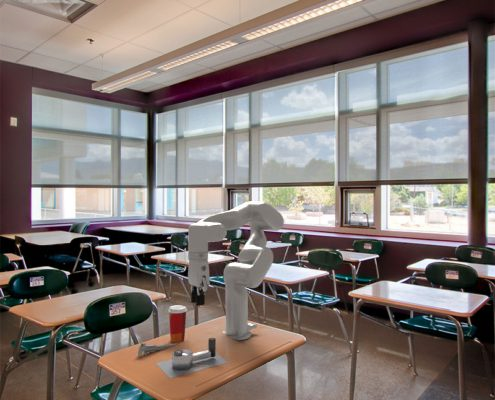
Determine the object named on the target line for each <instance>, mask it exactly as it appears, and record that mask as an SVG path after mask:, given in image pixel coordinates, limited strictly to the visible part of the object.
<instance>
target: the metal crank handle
mask: <svg viewBox="0 0 495 400" xmlns="http://www.w3.org/2000/svg"><path fill="white" fill-rule="evenodd" d="M216 340H217V339H216V338H215V337H210V338H208V340H207V341H208V344H207V345H208V346H207V347H208V348H207V349H208V350H203V351H198V352H194V353H193V351H192V350H190V349H175V350H173V352H172V355H171V359H172V367H173V368H174V369H177V370H185V369H188V368H190V367H192V365H193V362H194V361H198V360H202V359H206V358H210V357H215V356H216V353H217V352H216V349H217V348H216V346H217V345H216V344H217V342H216Z"/></svg>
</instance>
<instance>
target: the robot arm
mask: <svg viewBox="0 0 495 400" xmlns="http://www.w3.org/2000/svg"><path fill="white" fill-rule="evenodd" d="M248 223H249V227H250V234H249V235H250V236H249V238H248V239H247V240H246V243H245V244H244V245H243V246H242V249H241V250H240V252H239V254H238V257H237V258H238V261H237V262H229V263H227V265H225V266H224V267H225V268H224V269H223V280H224V285H225V330H223V331H222V334H223V335H224V334H225V335H226V336H228V337H230V338H231V339H233V341H245V340H248V339H249V338H251V336H252V332H251V330H254V329H257V328H258V325H257V324H256V323H253V324H252V323H250V322H249V323H248V320H249V319H248V316H249V315H248V312H249V310H248V305H249V303H248V302H249V294H248V290H247V289H246V288H250V289H251V288H252V289H255V288H258V287H259V286H260V285H261V283H262V282H263V280H264V279H265V277H266V275H267V274H268V272H269V270H270V269H271V268H272V265H273V262H274V253H273V250H272V249H271V248H270V247H267V242H268V240H267V237H266V234H265V232H264V231H271V232H272V231H273V232H277V231H280V230H281V229H282V228H283V226H284V223H285V220H284V217H283V215H282V214H281V212H280V211H278V210H277V209H276V208H274V207H273V206H272V205H270V204H269V203H267V202H265V201H246V202H244V203H241V204H240V205H238V206H236V207H234V208H232V209H230V210H227V211H222V212H219V213H215V214H213V215H209V216H207V217H204V218H202V219H200V220H199V221H198V222H196V223H191V224H189V226H188V228H187V229H188V231H187V233H188V235H187V236H188V237H187V239H188V240H187V242H188V243H187V244H188V245H187V249H188V250H187V251H188V252H187V259H188V269H187V271H188V272H187V280H188V284H189V287H190V293H191V294H190V302H191V304H196V306H197V307H200V306H201V307H202V306H205V300H206V299H205V295H206V292H207V290H208V287H210V285H211V284H210V282H211V281H210V280H211V279H210V278H211V277H210V265H209V261H208V260H209V243H210V242H216V243H217V242H221V241H222V240H224V239H225V238H226V236H227V231H233V230H237V229H240V228H241V227H243V226H244V225H246V224H248Z"/></svg>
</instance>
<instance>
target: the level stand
mask: <svg viewBox="0 0 495 400" xmlns="http://www.w3.org/2000/svg"><path fill="white" fill-rule="evenodd" d="M226 364H229V361H227V359H225V358H223V357H222V356H221V355H219V354H218V353H217V352H216V356H215V357H210V358H206V359H202V360H198V361H194V362H193V365H192V367H190V368H188V369H185V370H177V369H174V368H173V367H172V358H171V359H167V360H164V361H160V362H156V363H155V365H156V366H157V367H158V368H159V369H160V370H161V371H162V372H163V373H164V374H165V375H166V376H167V377H168V378H169V379H173V378H176V377H177V378H178V377H179V376H184V375H187V374H190V373H191V374H192V373H195V372H198V371H202V370H206V369H209V368H213V367H218V366H220V365H226Z"/></svg>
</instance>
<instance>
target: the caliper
mask: <svg viewBox="0 0 495 400" xmlns="http://www.w3.org/2000/svg"><path fill="white" fill-rule="evenodd" d="M176 345H178V343H166V344H159V345H157V344H147V343H145V342H143V343H142V342H141V343H140V345H139V348H138V351H137V356H138V357H139V358H140V357H142V356H147V355H148V353H151V354H152V353H156V352H157V351H159V350H164V349H168V348H170V347H173V346H176Z"/></svg>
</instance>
